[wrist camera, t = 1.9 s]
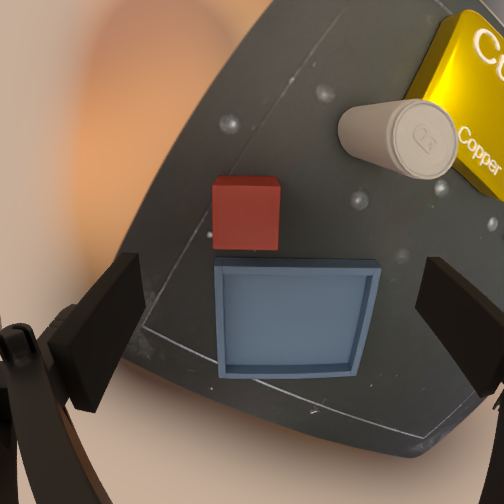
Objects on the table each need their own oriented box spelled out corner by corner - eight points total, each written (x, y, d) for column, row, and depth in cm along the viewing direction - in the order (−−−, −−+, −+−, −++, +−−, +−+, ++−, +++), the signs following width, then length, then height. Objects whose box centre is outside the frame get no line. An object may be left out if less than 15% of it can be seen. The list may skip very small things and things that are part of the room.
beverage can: (364, 169, 28) (429, 198, 17) (324, 135, 27) (374, 142, 15) (394, 130, 26) (472, 140, 15) (356, 95, 25) (421, 80, 14)
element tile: (391, 119, 26) (415, 120, 21) (445, 10, 21) (470, -1, 17) (487, 200, 28) (514, 212, 24) (530, 99, 24) (557, 100, 19)
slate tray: (220, 365, 36) (218, 378, 34) (216, 256, 31) (213, 265, 29) (351, 364, 36) (356, 375, 34) (374, 259, 31) (381, 268, 29)
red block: (218, 229, 30) (212, 249, 25) (218, 175, 28) (212, 185, 23) (273, 230, 30) (277, 250, 25) (275, 176, 28) (280, 186, 23)
